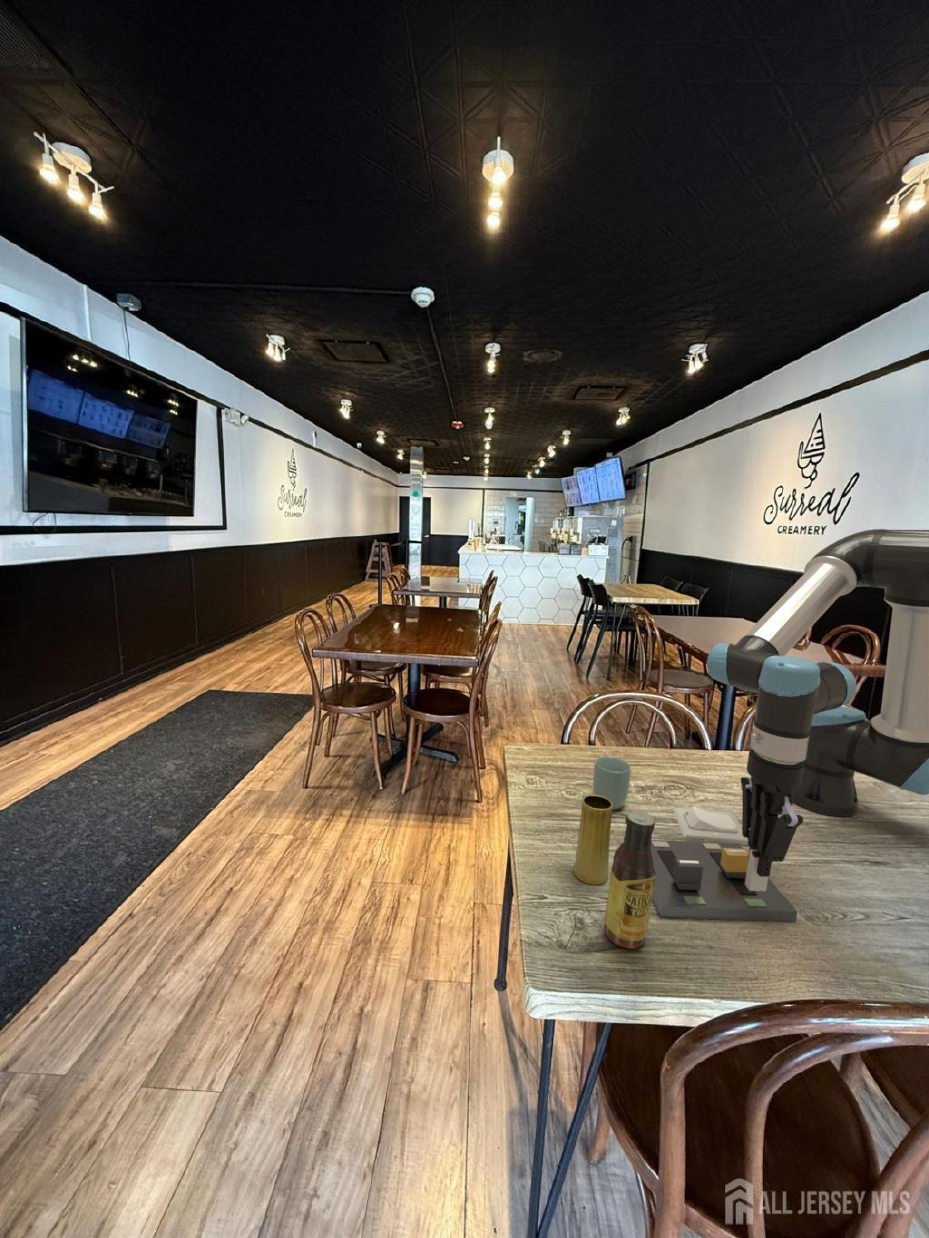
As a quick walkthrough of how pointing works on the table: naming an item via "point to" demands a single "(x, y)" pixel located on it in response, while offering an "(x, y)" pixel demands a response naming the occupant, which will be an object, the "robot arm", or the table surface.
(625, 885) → the sauce bottle
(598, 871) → the vase
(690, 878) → the lever
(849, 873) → the table surface
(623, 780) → the cup
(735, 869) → the lever
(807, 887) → the table surface
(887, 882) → the table surface
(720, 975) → the table surface
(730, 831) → the light switch
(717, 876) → the breaker panel
